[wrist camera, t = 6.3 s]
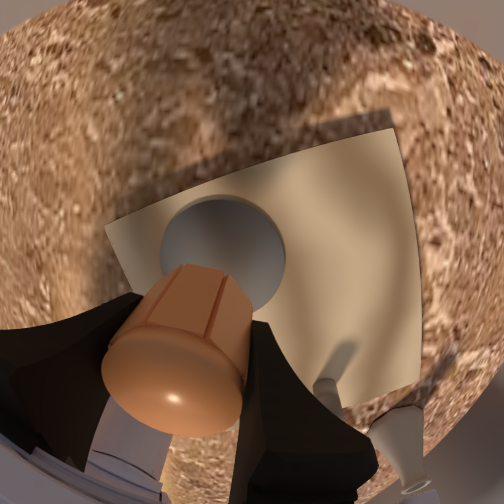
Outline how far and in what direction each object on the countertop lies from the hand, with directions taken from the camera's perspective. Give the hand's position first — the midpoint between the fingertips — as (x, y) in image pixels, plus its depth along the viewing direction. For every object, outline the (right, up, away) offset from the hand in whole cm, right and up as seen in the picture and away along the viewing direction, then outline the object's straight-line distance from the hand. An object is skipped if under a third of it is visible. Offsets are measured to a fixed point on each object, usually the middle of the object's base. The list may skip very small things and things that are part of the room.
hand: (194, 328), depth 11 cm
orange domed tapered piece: (0, 0, +1) cm, 1 cm away
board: (+5, -2, +10) cm, 11 cm away
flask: (+19, -17, +15) cm, 30 cm away
